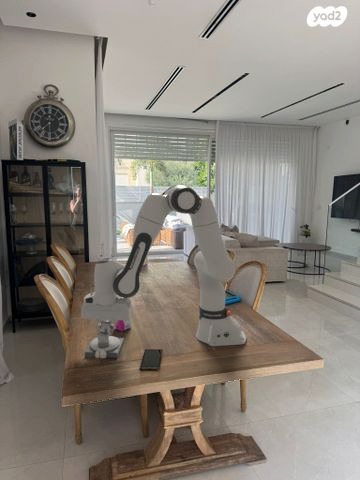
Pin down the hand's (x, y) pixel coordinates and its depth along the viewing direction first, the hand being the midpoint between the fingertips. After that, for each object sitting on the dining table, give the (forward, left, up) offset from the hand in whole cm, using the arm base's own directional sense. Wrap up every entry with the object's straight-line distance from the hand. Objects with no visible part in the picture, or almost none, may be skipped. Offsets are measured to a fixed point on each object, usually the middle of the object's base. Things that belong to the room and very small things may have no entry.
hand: (106, 328), depth 137 cm
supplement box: (-3, -17, -8) cm, 19 cm away
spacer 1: (0, 0, -2) cm, 2 cm away
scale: (0, +3, -9) cm, 9 cm away
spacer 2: (0, +6, -5) cm, 7 cm away
